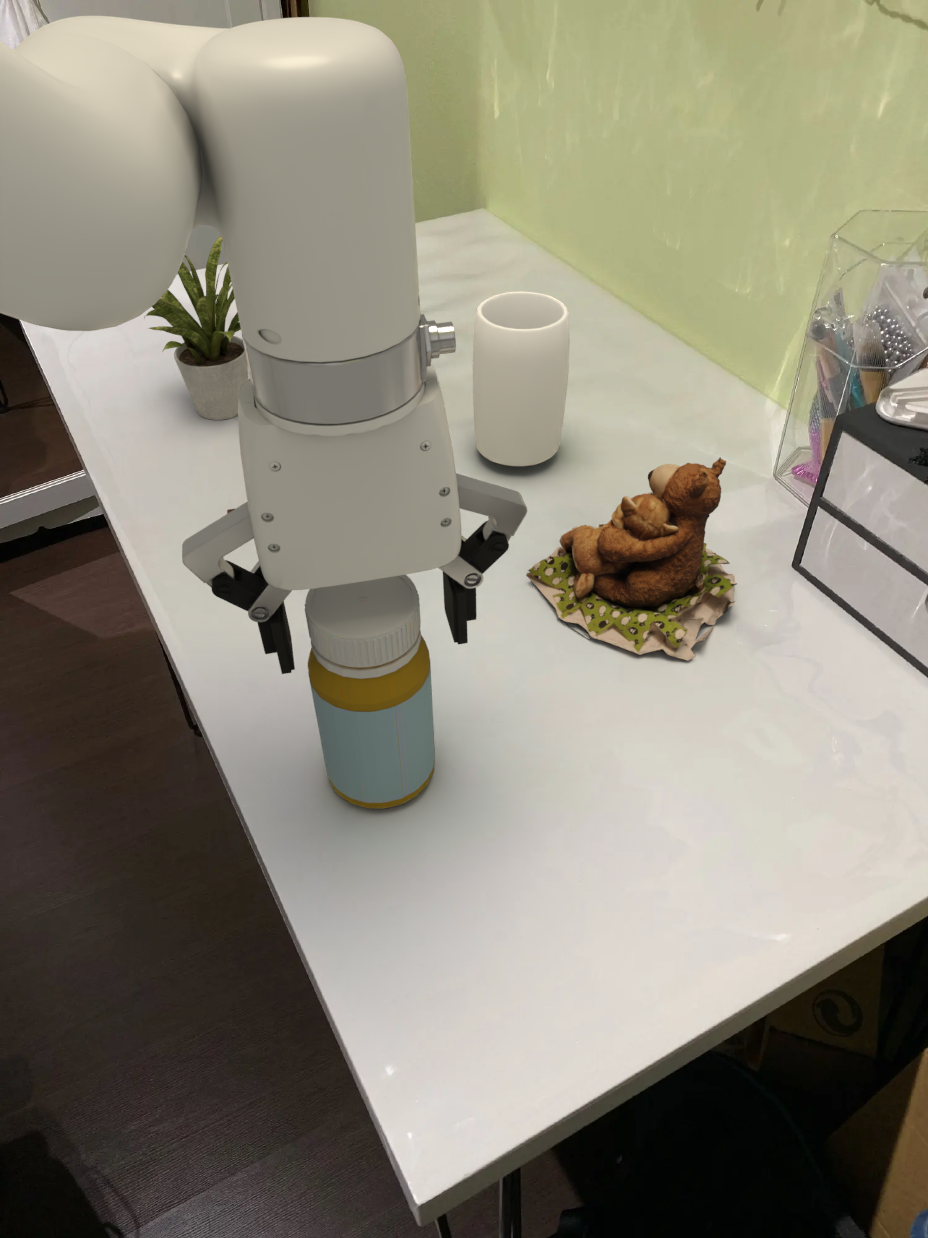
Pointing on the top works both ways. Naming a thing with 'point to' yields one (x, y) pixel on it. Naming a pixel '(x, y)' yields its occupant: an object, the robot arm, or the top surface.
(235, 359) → the house plant
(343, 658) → the bottle
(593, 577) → the bear figurine
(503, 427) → the cup
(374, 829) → the top surface
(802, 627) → the top surface
